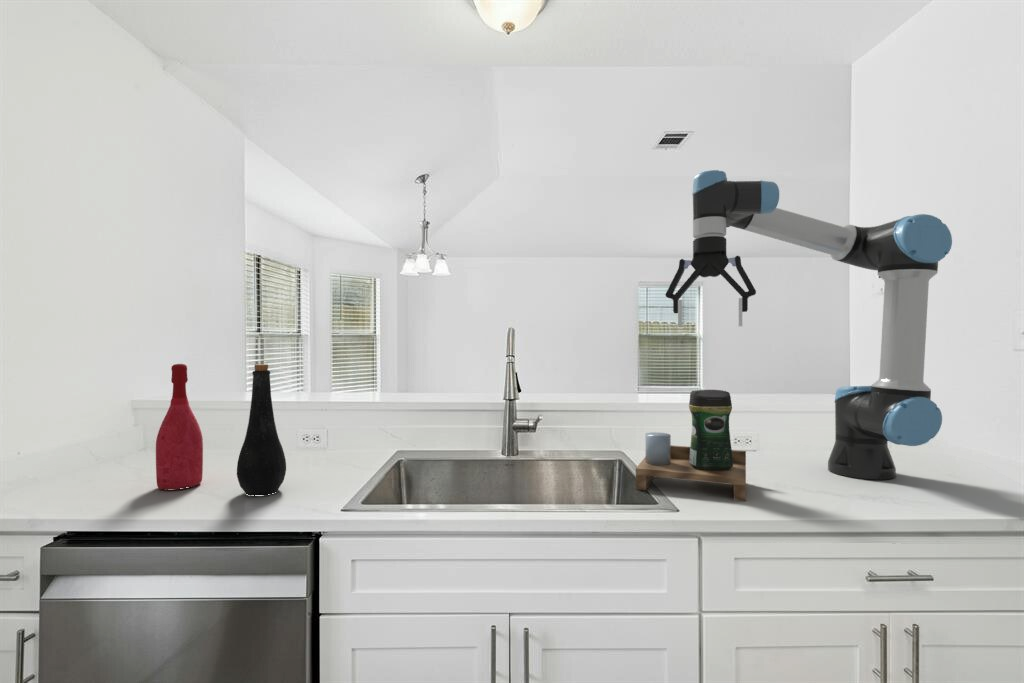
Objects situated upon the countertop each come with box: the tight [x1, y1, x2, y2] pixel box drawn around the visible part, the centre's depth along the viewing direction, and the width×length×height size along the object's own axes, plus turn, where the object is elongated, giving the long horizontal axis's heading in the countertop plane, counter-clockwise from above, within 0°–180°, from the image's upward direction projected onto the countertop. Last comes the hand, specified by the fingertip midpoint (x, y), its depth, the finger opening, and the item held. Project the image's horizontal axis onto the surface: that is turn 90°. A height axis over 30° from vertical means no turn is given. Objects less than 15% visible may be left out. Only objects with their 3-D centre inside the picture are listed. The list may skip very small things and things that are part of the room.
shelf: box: [635, 445, 747, 502], centre depth 130 cm, size 24×16×8 cm, turn 66°
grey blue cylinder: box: [645, 431, 672, 465], centre depth 134 cm, size 6×6×7 cm
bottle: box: [236, 363, 287, 496], centre depth 126 cm, size 11×11×30 cm
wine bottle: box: [155, 363, 204, 491], centre depth 132 cm, size 10×10×30 cm
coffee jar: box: [688, 389, 733, 470], centre depth 129 cm, size 10×8×19 cm
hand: (709, 326), depth 129 cm, fingers open, 13 cm apart
